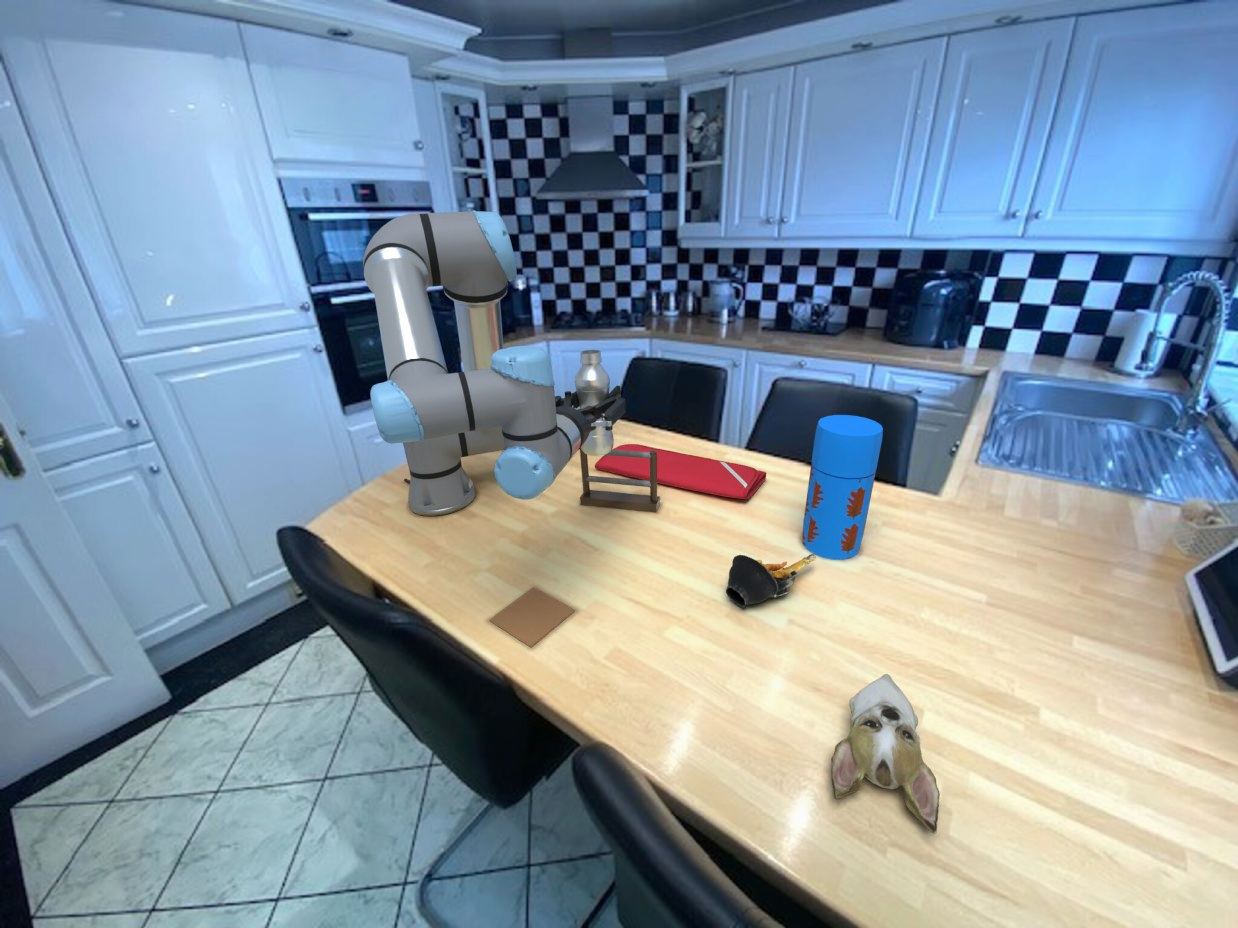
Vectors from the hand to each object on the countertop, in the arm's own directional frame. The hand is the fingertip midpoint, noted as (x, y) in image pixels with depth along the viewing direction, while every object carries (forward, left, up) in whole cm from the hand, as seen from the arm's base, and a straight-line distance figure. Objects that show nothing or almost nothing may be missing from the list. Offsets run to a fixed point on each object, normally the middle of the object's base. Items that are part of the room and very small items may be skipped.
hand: (601, 391), depth 99 cm
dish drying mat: (-6, +25, -29) cm, 39 cm away
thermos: (+36, +28, -29) cm, 54 cm away
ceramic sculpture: (+66, -7, -29) cm, 72 cm away
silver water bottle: (+3, -4, -11) cm, 12 cm away
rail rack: (-3, +5, -29) cm, 30 cm away
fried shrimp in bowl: (+38, +8, -29) cm, 48 cm away
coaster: (+18, -28, -29) cm, 44 cm away
